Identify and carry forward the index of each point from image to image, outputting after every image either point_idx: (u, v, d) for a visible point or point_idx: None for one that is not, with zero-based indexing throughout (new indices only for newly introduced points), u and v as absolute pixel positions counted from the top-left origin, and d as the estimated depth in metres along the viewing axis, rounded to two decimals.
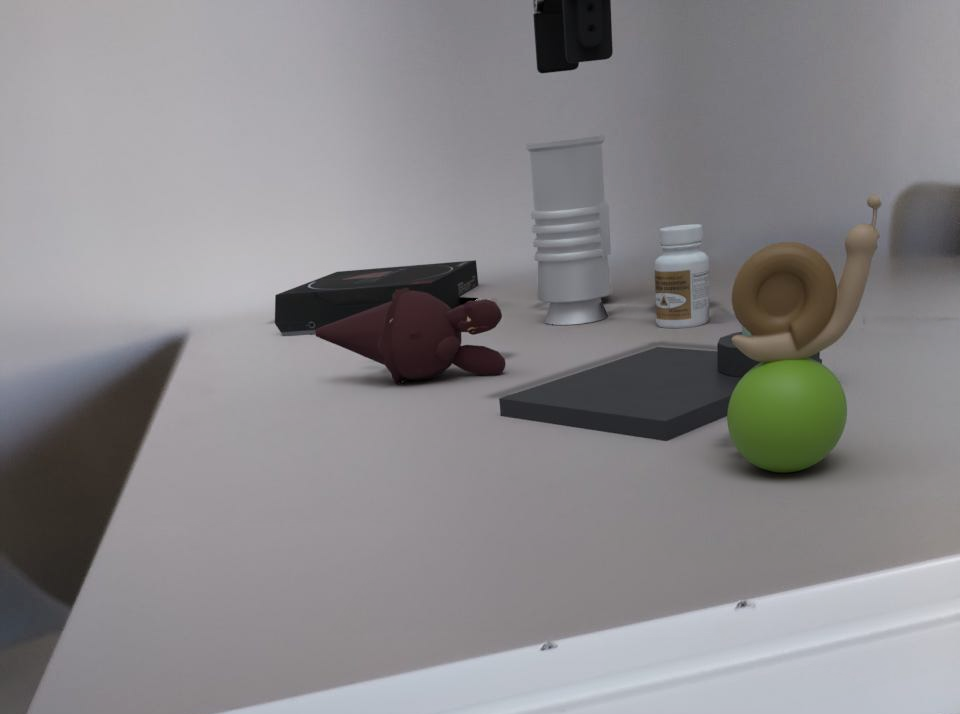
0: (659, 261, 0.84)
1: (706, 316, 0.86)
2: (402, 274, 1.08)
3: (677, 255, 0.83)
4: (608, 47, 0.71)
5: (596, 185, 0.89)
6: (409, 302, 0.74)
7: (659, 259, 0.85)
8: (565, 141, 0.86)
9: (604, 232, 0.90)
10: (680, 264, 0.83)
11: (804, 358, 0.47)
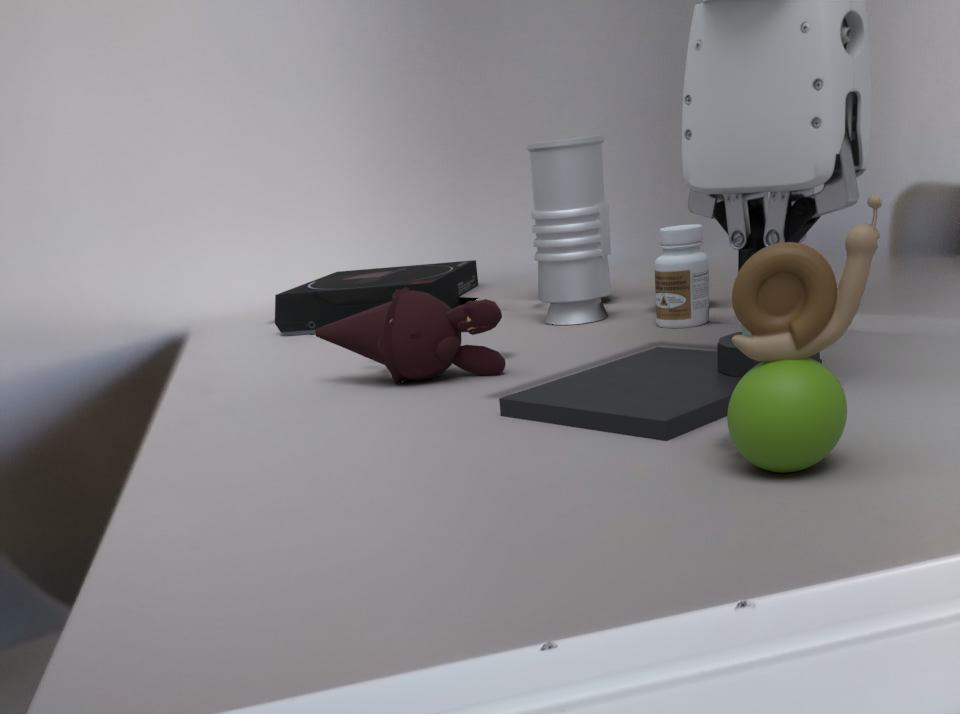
0: (659, 261, 0.84)
1: (706, 316, 0.86)
2: (402, 274, 1.08)
3: (677, 255, 0.83)
4: None
5: (596, 185, 0.89)
6: (409, 302, 0.74)
7: (659, 259, 0.85)
8: (565, 141, 0.86)
9: (604, 232, 0.90)
10: (680, 264, 0.83)
11: (804, 358, 0.47)
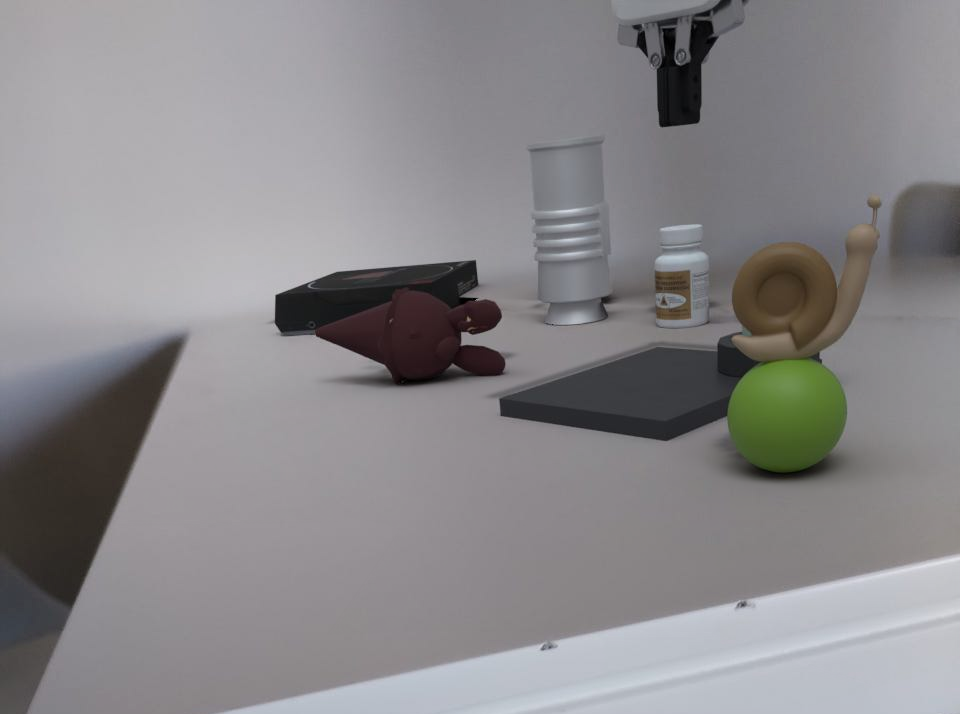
0: (659, 261, 0.84)
1: (706, 316, 0.86)
2: (402, 274, 1.08)
3: (677, 255, 0.83)
4: (698, 113, 0.80)
5: (596, 185, 0.89)
6: (409, 303, 0.74)
7: (659, 259, 0.85)
8: (565, 141, 0.86)
9: (604, 232, 0.90)
10: (680, 264, 0.83)
11: (804, 358, 0.47)
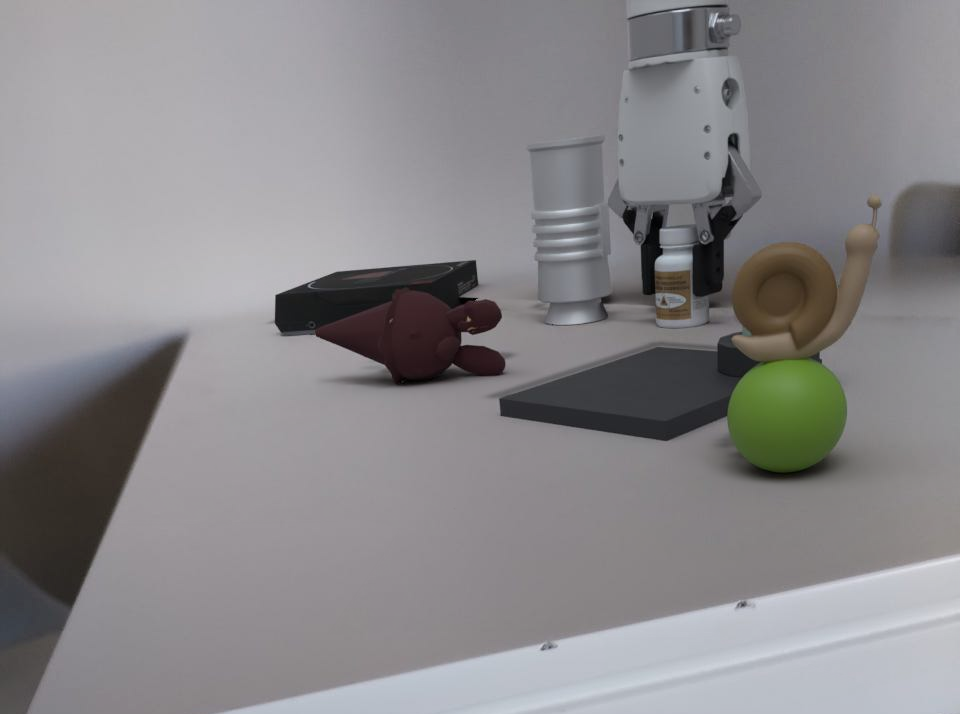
0: (659, 261, 0.84)
1: (706, 316, 0.86)
2: (402, 274, 1.08)
3: (677, 255, 0.83)
4: (720, 282, 0.85)
5: (596, 185, 0.89)
6: (409, 303, 0.74)
7: (659, 259, 0.85)
8: (565, 141, 0.86)
9: (604, 232, 0.90)
10: (680, 264, 0.83)
11: (804, 358, 0.47)
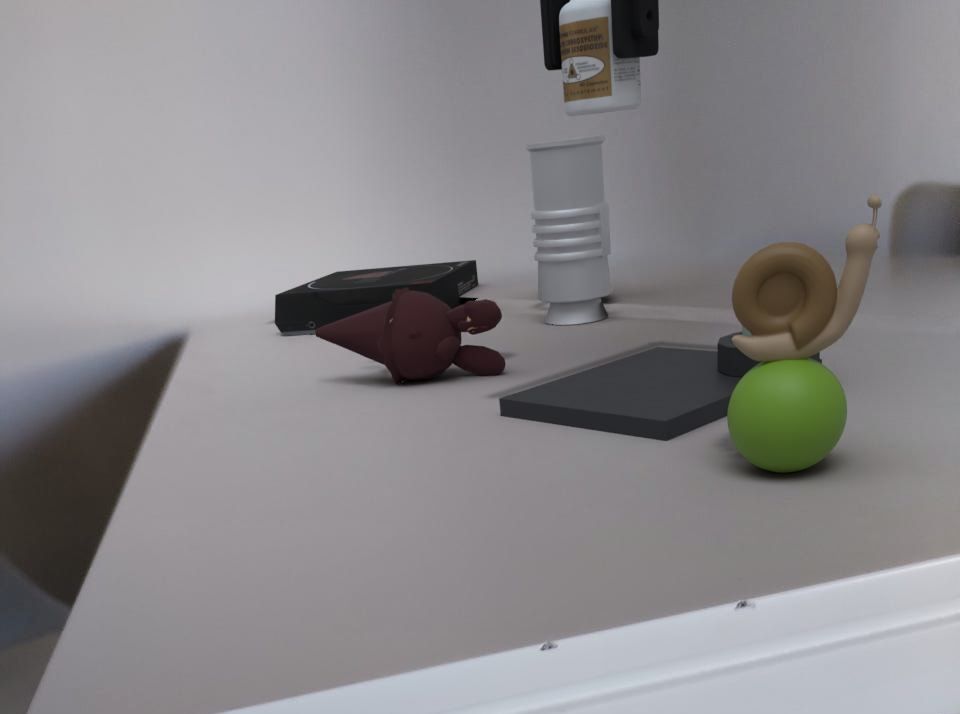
0: (564, 8, 0.57)
1: (635, 95, 0.58)
2: (402, 274, 1.08)
3: None
4: (655, 41, 0.57)
5: (596, 185, 0.89)
6: (409, 302, 0.74)
7: (564, 6, 0.57)
8: (565, 141, 0.86)
9: (604, 232, 0.90)
10: (594, 8, 0.56)
11: (804, 358, 0.47)
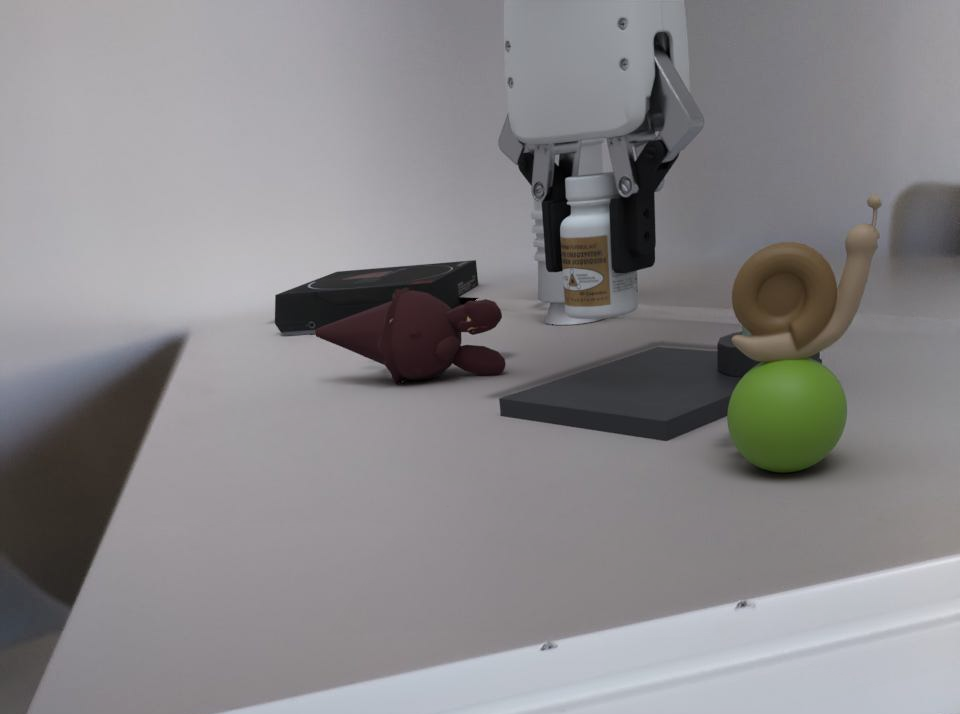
0: (565, 223, 0.60)
1: (633, 301, 0.61)
2: (402, 274, 1.08)
3: (589, 214, 0.59)
4: (652, 254, 0.60)
5: None
6: (409, 302, 0.74)
7: (565, 221, 0.60)
8: None
9: None
10: (593, 227, 0.58)
11: (804, 358, 0.47)
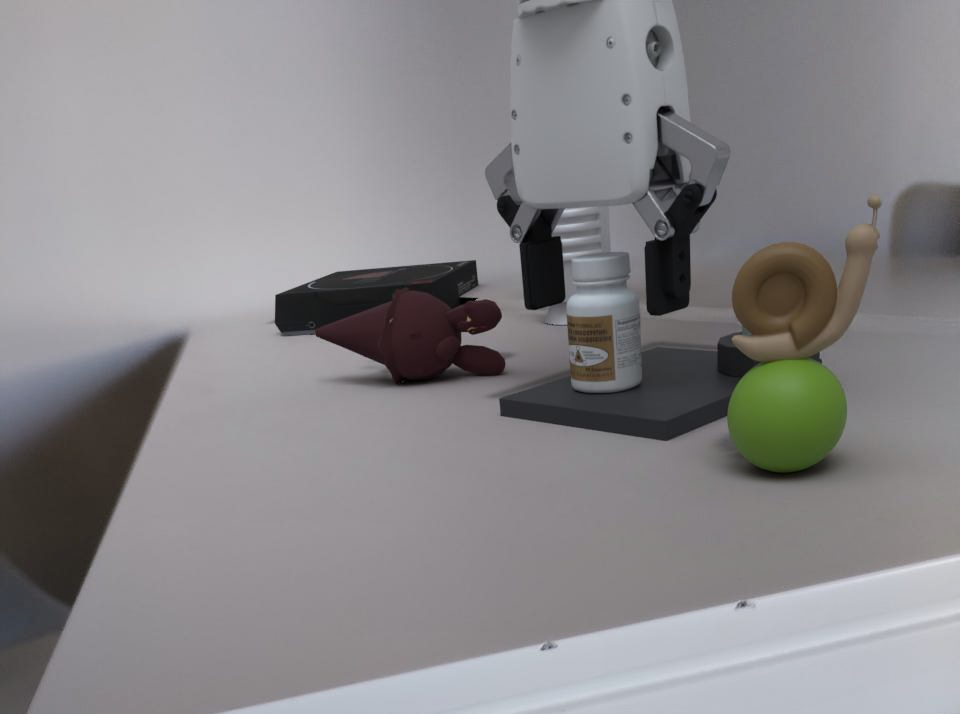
0: (571, 302, 0.62)
1: (637, 376, 0.63)
2: (402, 274, 1.08)
3: (595, 294, 0.61)
4: (686, 295, 0.59)
5: None
6: (409, 303, 0.74)
7: (571, 299, 0.62)
8: None
9: (604, 232, 0.90)
10: (599, 307, 0.60)
11: (804, 358, 0.47)
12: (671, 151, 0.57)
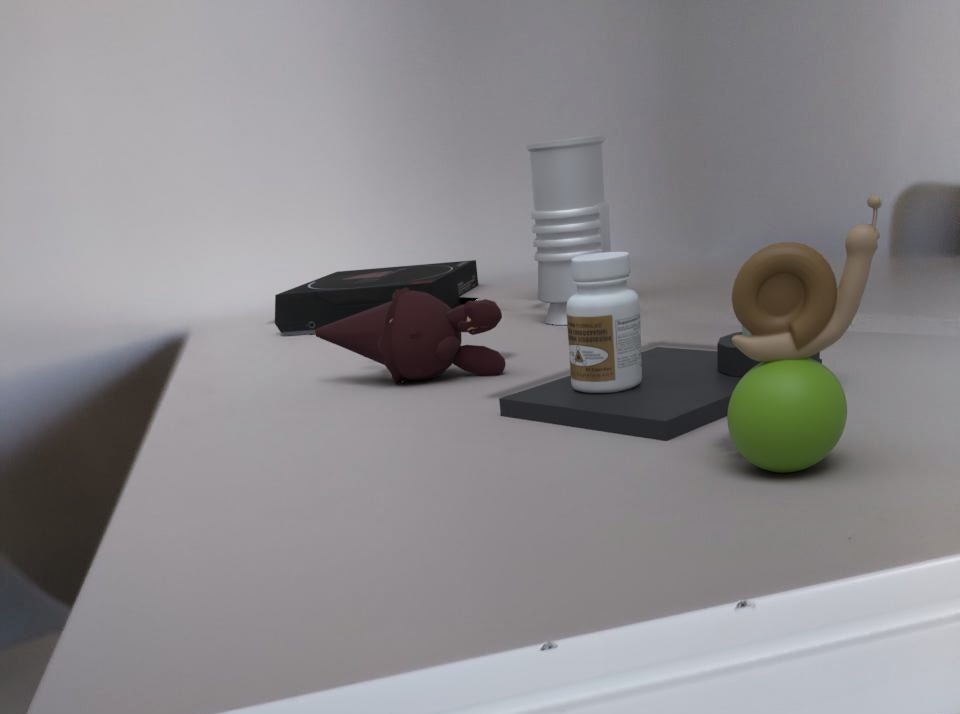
0: (571, 302, 0.62)
1: (637, 376, 0.63)
2: (402, 274, 1.08)
3: (595, 294, 0.61)
4: None
5: (596, 185, 0.89)
6: (409, 303, 0.74)
7: (571, 299, 0.62)
8: (565, 141, 0.86)
9: (604, 232, 0.90)
10: (599, 307, 0.60)
11: (804, 358, 0.47)
12: None
